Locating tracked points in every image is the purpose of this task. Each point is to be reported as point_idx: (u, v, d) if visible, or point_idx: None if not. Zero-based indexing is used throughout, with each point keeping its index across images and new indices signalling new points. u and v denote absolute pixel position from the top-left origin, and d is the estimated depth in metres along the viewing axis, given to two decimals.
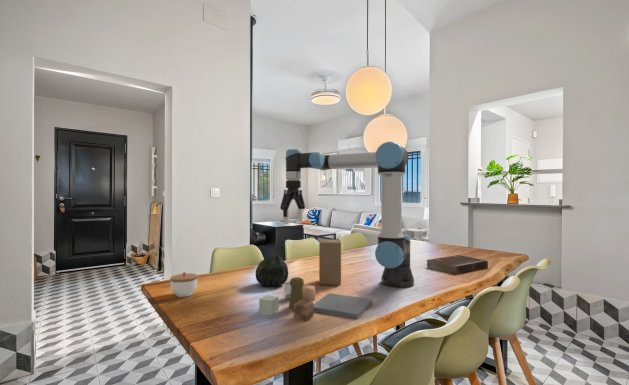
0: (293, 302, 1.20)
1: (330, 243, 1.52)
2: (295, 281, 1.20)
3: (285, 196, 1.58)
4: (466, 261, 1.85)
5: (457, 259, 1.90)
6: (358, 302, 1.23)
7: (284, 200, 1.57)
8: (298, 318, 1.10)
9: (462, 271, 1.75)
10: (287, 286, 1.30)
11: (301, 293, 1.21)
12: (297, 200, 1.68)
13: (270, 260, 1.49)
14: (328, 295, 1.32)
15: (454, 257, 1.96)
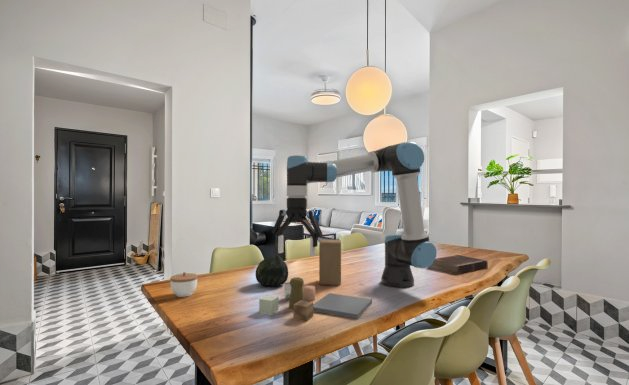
0: (293, 302, 1.20)
1: (330, 243, 1.52)
2: (295, 281, 1.20)
3: None
4: (466, 261, 1.85)
5: (457, 259, 1.90)
6: (358, 302, 1.23)
7: None
8: (298, 318, 1.10)
9: (463, 271, 1.75)
10: (287, 286, 1.30)
11: (301, 293, 1.21)
12: None
13: (270, 260, 1.49)
14: (328, 295, 1.32)
15: (454, 257, 1.96)
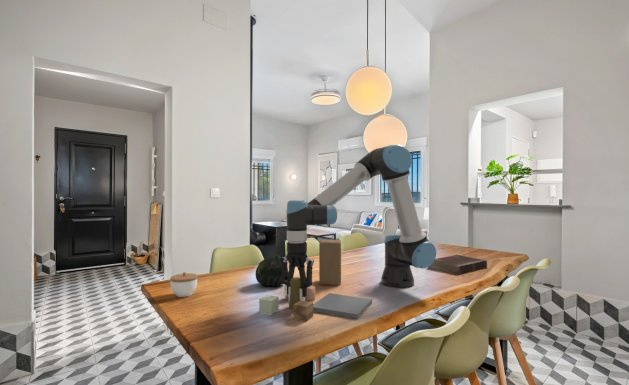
0: (293, 302, 1.20)
1: (330, 243, 1.52)
2: (295, 281, 1.20)
3: None
4: (466, 261, 1.85)
5: (457, 259, 1.90)
6: (358, 302, 1.23)
7: None
8: (298, 318, 1.10)
9: (463, 271, 1.75)
10: None
11: None
12: None
13: (270, 260, 1.49)
14: (328, 295, 1.32)
15: (453, 257, 1.96)
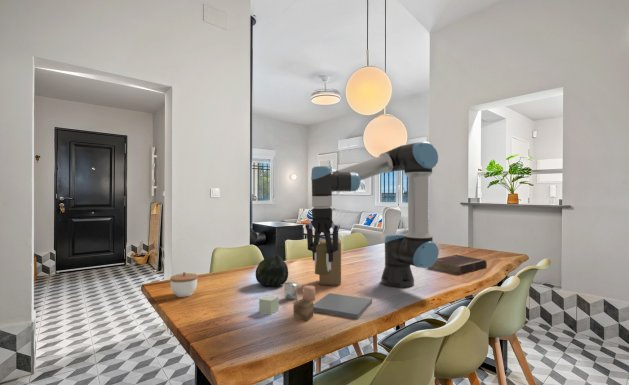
0: (319, 267, 1.21)
1: None
2: (321, 246, 1.21)
3: None
4: (466, 261, 1.85)
5: (457, 259, 1.90)
6: (358, 302, 1.23)
7: None
8: (298, 318, 1.10)
9: (464, 271, 1.75)
10: (287, 286, 1.30)
11: None
12: None
13: (270, 260, 1.49)
14: (328, 295, 1.32)
15: (453, 257, 1.96)
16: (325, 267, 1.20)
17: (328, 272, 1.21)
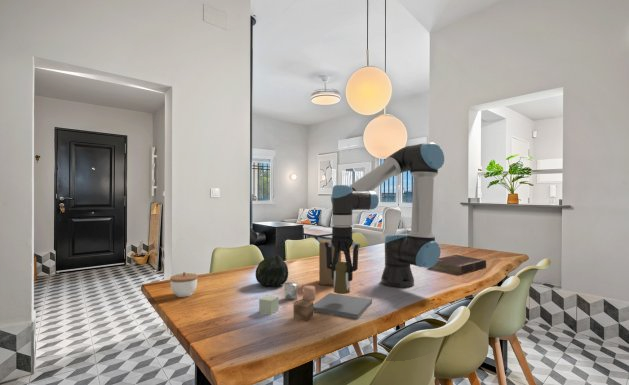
0: (339, 286, 1.20)
1: None
2: (341, 265, 1.21)
3: None
4: (466, 261, 1.86)
5: (456, 259, 1.90)
6: (358, 302, 1.23)
7: None
8: (298, 318, 1.10)
9: (465, 271, 1.75)
10: (287, 286, 1.30)
11: None
12: None
13: (270, 260, 1.49)
14: (328, 295, 1.32)
15: (453, 257, 1.96)
16: (345, 286, 1.20)
17: (347, 291, 1.21)
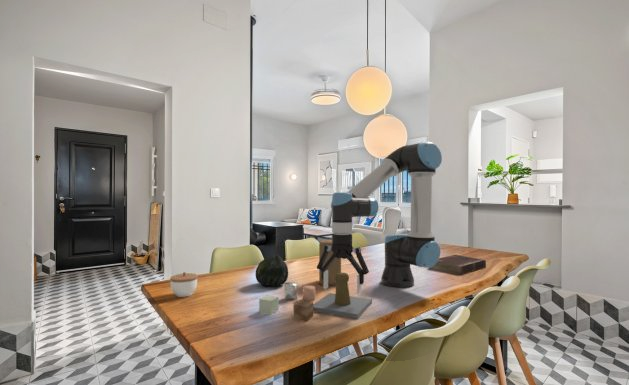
0: (339, 297, 1.20)
1: (330, 243, 1.52)
2: (341, 276, 1.21)
3: None
4: (466, 261, 1.86)
5: (456, 259, 1.90)
6: (358, 302, 1.23)
7: None
8: (298, 318, 1.10)
9: (465, 271, 1.75)
10: (287, 286, 1.30)
11: (347, 288, 1.22)
12: None
13: (270, 260, 1.49)
14: (328, 295, 1.32)
15: (452, 257, 1.96)
16: (345, 297, 1.20)
17: (348, 302, 1.21)
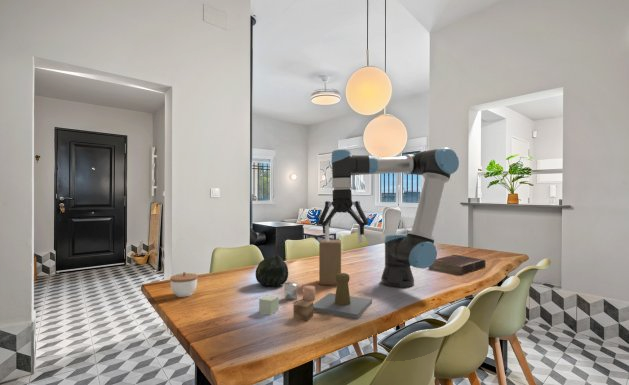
0: (340, 298, 1.20)
1: (330, 243, 1.52)
2: (342, 276, 1.21)
3: None
4: (466, 261, 1.86)
5: (456, 259, 1.90)
6: (358, 302, 1.23)
7: None
8: (298, 318, 1.10)
9: (466, 271, 1.75)
10: (287, 286, 1.30)
11: (347, 288, 1.21)
12: None
13: (270, 260, 1.49)
14: (328, 295, 1.32)
15: (452, 257, 1.96)
16: (345, 298, 1.20)
17: (348, 302, 1.21)
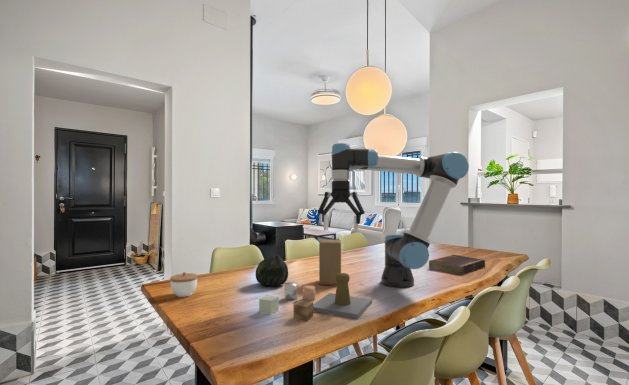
0: (340, 298, 1.20)
1: (330, 243, 1.52)
2: (342, 276, 1.21)
3: None
4: (466, 261, 1.86)
5: (456, 259, 1.90)
6: (358, 302, 1.23)
7: None
8: (298, 318, 1.10)
9: (466, 271, 1.75)
10: (287, 286, 1.30)
11: (347, 288, 1.21)
12: None
13: (270, 260, 1.49)
14: (328, 295, 1.32)
15: (452, 257, 1.96)
16: (345, 298, 1.20)
17: (348, 302, 1.21)
